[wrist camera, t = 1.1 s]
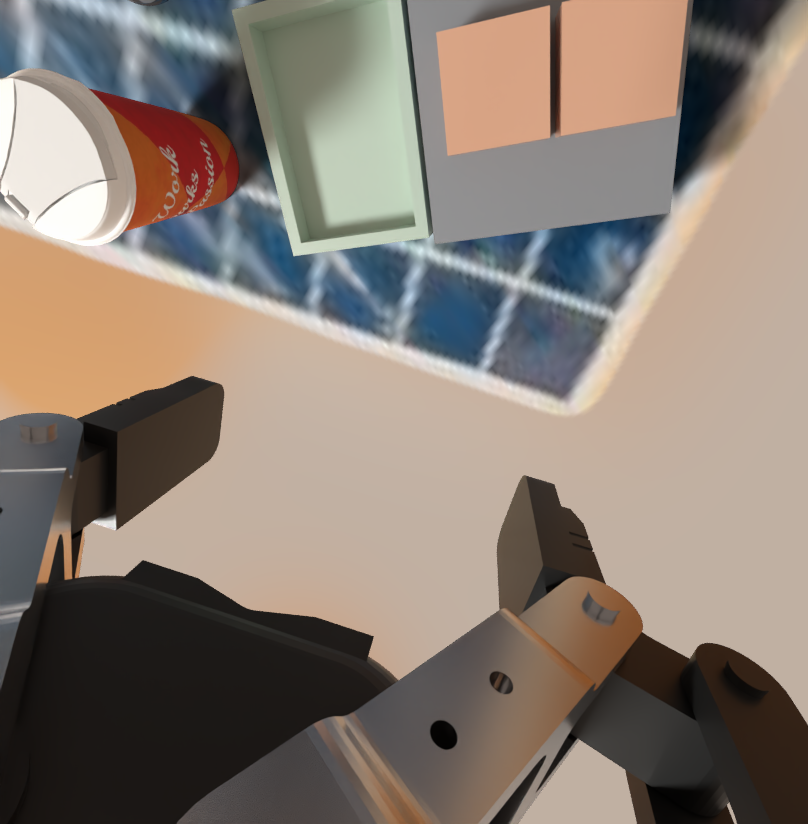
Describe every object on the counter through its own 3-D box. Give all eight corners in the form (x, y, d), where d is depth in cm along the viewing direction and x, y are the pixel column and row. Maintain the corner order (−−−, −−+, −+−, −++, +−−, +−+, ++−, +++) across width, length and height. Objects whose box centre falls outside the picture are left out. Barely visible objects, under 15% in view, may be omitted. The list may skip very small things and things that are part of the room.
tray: (251, 21, 29) (231, 10, 27) (404, -20, 27) (396, -36, 24) (305, 250, 35) (293, 256, 33) (433, 232, 33) (429, 237, 31)
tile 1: (441, 44, 23) (436, 32, 21) (544, 20, 22) (549, 5, 20) (451, 156, 25) (447, 155, 23) (545, 139, 24) (550, 137, 22)
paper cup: (211, 240, 36) (69, 280, 24) (136, 153, 34) (-61, 150, 22) (275, 171, 33) (148, 177, 21) (196, 70, 31) (3, 12, 19)
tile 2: (555, 17, 22) (562, 2, 20) (670, -9, 21) (690, -29, 19) (555, 137, 24) (561, 135, 22) (658, 119, 23) (675, 115, 21)
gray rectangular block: (417, -24, 26) (399, -69, 21) (663, -90, 24) (711, -160, 18) (444, 230, 33) (434, 244, 28) (639, 203, 30) (670, 212, 25)
